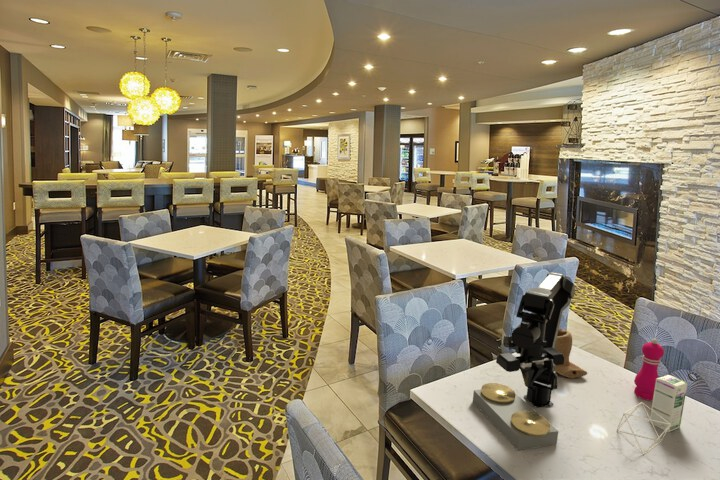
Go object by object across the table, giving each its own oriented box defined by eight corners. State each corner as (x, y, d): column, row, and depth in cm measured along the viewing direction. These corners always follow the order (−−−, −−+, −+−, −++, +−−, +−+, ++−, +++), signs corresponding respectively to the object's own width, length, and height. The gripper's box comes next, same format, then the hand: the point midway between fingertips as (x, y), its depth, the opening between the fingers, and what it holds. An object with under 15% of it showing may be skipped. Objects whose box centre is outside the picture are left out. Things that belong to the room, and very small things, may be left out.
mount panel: (506, 397, 147) (507, 386, 146) (556, 444, 124) (558, 431, 123) (472, 401, 143) (473, 390, 143) (517, 450, 121) (519, 436, 120)
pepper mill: (661, 402, 147) (672, 344, 143) (637, 399, 149) (647, 341, 145) (652, 391, 154) (662, 335, 150) (629, 388, 156) (638, 333, 152)
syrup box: (668, 433, 131) (677, 386, 128) (647, 422, 136) (656, 377, 133) (680, 428, 134) (689, 382, 131) (659, 417, 139) (667, 373, 136)
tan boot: (531, 362, 172) (536, 324, 169) (557, 359, 176) (562, 322, 173) (559, 382, 158) (565, 341, 155) (587, 378, 162) (593, 338, 159)
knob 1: (502, 395, 147) (503, 381, 146) (520, 412, 138) (522, 398, 137) (474, 398, 144) (475, 384, 144) (491, 416, 135) (492, 401, 134)
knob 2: (532, 423, 132) (534, 409, 131) (556, 445, 123) (558, 429, 122) (502, 428, 129) (504, 413, 128) (523, 450, 120) (525, 434, 119)
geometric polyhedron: (667, 461, 119) (673, 430, 117) (619, 449, 123) (625, 418, 121) (659, 435, 130) (664, 406, 128) (615, 425, 134) (620, 396, 133)
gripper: (542, 321, 138) (536, 369, 141) (487, 327, 132) (483, 376, 136) (568, 336, 127) (562, 387, 131) (510, 343, 122) (505, 396, 125)
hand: (527, 386), depth 131 cm, fingers closed
